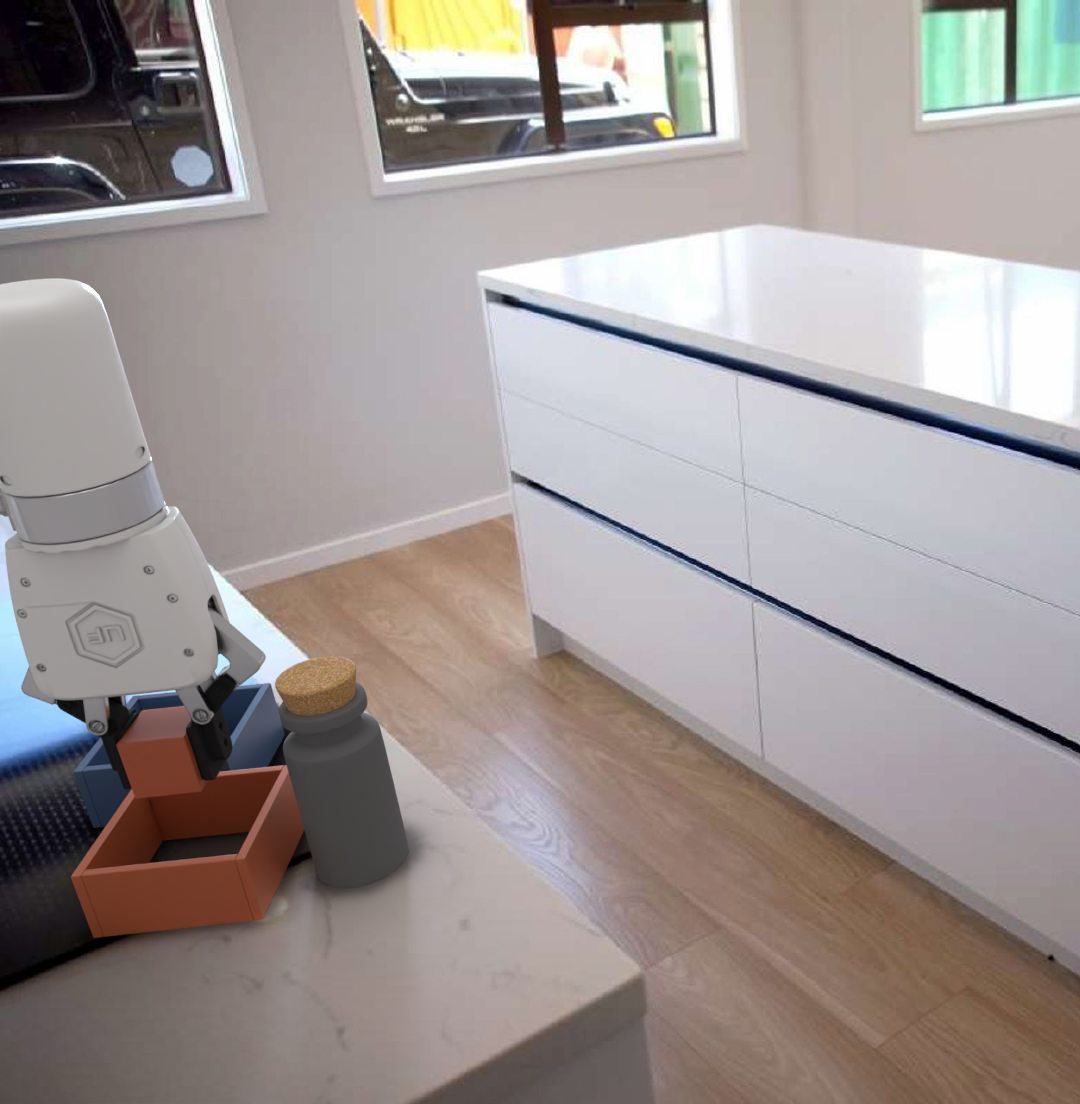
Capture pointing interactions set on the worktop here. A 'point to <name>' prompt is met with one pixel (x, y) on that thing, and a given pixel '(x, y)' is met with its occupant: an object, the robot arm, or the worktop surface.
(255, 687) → the blue bin
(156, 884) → the terracotta bin
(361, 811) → the bottle
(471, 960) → the worktop surface
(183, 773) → the terracotta block
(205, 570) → the robot arm
